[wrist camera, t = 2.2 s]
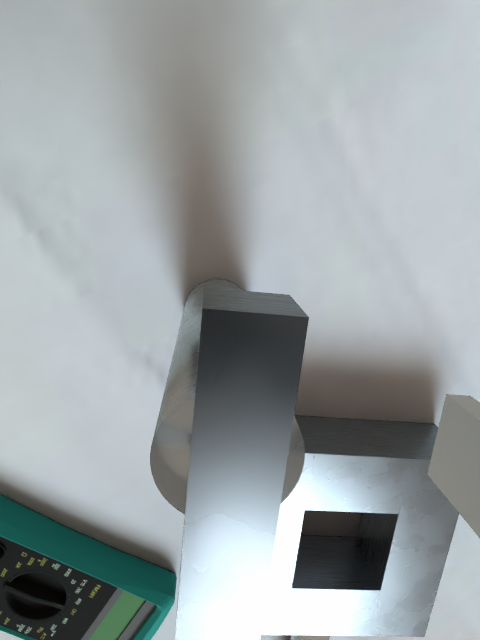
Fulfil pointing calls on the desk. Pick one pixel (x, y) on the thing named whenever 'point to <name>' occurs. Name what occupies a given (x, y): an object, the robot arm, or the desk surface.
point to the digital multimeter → (74, 583)
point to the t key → (230, 451)
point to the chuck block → (361, 534)
